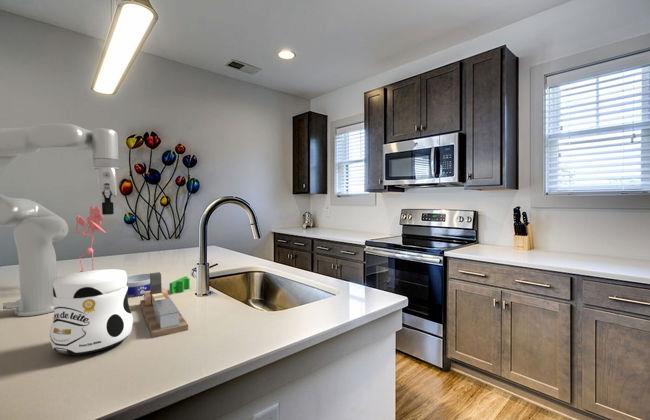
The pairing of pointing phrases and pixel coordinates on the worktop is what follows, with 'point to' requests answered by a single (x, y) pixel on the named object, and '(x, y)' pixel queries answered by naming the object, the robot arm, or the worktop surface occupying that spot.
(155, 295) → the bar
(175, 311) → the grey concrete brick
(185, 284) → the pipe clamp
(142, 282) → the dog bowl
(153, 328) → the board
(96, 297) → the milk container
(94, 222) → the figurine
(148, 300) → the socket
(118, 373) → the worktop surface
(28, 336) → the worktop surface
